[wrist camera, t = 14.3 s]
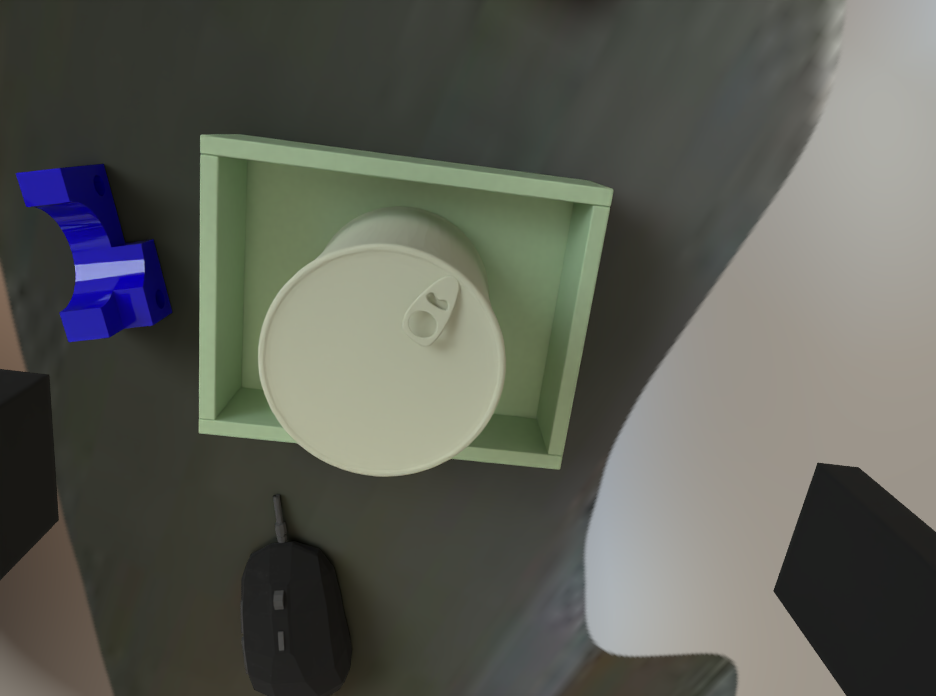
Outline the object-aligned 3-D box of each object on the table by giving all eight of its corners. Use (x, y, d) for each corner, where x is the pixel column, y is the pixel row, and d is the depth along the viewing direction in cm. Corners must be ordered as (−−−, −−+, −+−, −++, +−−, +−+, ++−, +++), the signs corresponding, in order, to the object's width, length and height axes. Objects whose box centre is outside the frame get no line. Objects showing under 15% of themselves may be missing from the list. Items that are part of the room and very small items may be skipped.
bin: (236, 133, 33) (199, 134, 28) (589, 180, 35) (614, 189, 30) (231, 393, 38) (198, 433, 33) (545, 426, 39) (560, 470, 34)
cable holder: (172, 312, 36) (140, 334, 32) (108, 319, 36) (68, 342, 32) (132, 160, 34) (93, 164, 30) (64, 168, 34) (15, 173, 30)
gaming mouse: (329, 489, 40) (317, 527, 36) (358, 685, 44) (350, 737, 41) (224, 497, 40) (200, 536, 36) (264, 692, 44) (247, 745, 40)
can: (523, 279, 35) (561, 350, 24) (419, 406, 37) (407, 527, 26) (382, 167, 33) (350, 188, 22) (280, 308, 35) (202, 393, 24)
